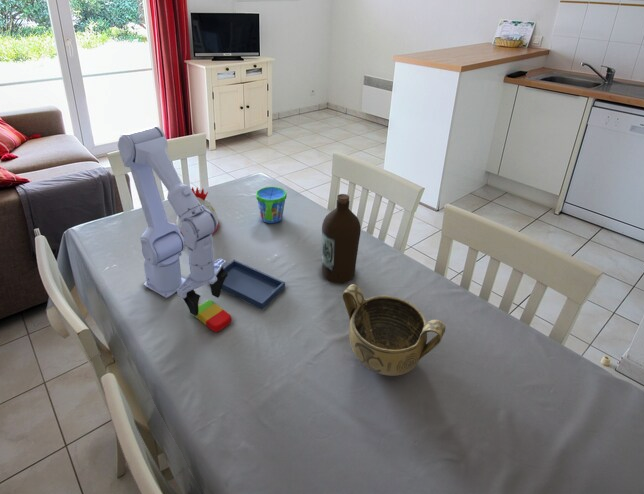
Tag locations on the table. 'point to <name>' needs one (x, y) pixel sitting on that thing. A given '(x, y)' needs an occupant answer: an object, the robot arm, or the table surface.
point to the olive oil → (340, 242)
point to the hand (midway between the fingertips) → (205, 304)
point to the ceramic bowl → (388, 332)
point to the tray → (251, 284)
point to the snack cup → (271, 203)
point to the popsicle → (213, 316)
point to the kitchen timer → (203, 202)
